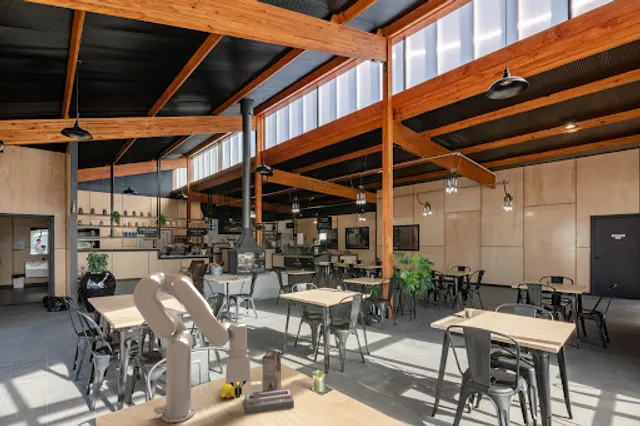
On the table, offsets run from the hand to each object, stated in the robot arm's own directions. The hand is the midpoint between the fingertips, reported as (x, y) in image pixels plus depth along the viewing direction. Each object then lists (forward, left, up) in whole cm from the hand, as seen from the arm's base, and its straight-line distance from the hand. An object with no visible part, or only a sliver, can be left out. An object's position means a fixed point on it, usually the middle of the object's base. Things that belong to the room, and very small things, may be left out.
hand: (238, 396), depth 149 cm
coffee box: (+16, +14, -5) cm, 22 cm away
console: (+13, 0, -4) cm, 14 cm away
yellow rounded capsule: (-3, +16, -5) cm, 17 cm away
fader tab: (+8, 0, -2) cm, 8 cm away
